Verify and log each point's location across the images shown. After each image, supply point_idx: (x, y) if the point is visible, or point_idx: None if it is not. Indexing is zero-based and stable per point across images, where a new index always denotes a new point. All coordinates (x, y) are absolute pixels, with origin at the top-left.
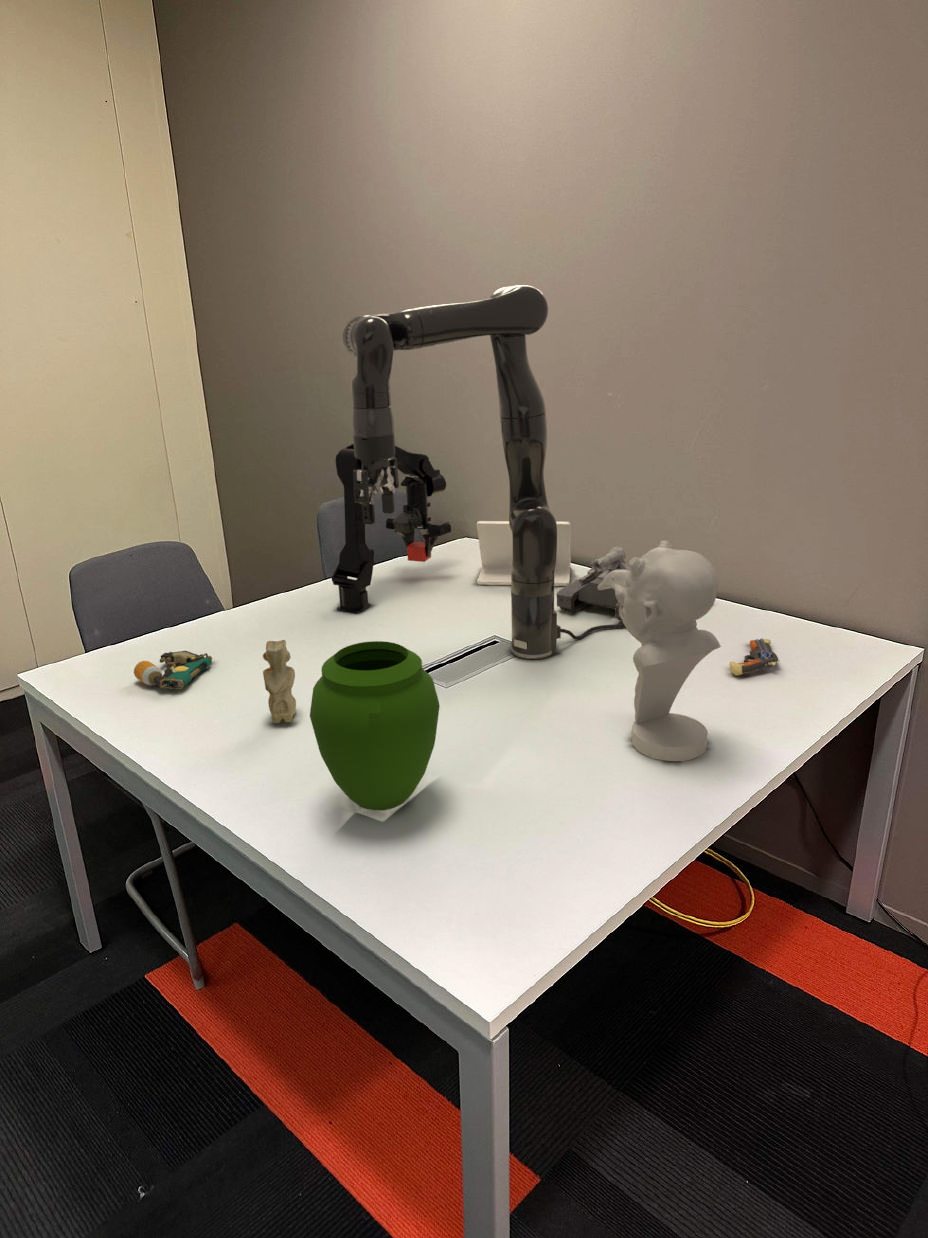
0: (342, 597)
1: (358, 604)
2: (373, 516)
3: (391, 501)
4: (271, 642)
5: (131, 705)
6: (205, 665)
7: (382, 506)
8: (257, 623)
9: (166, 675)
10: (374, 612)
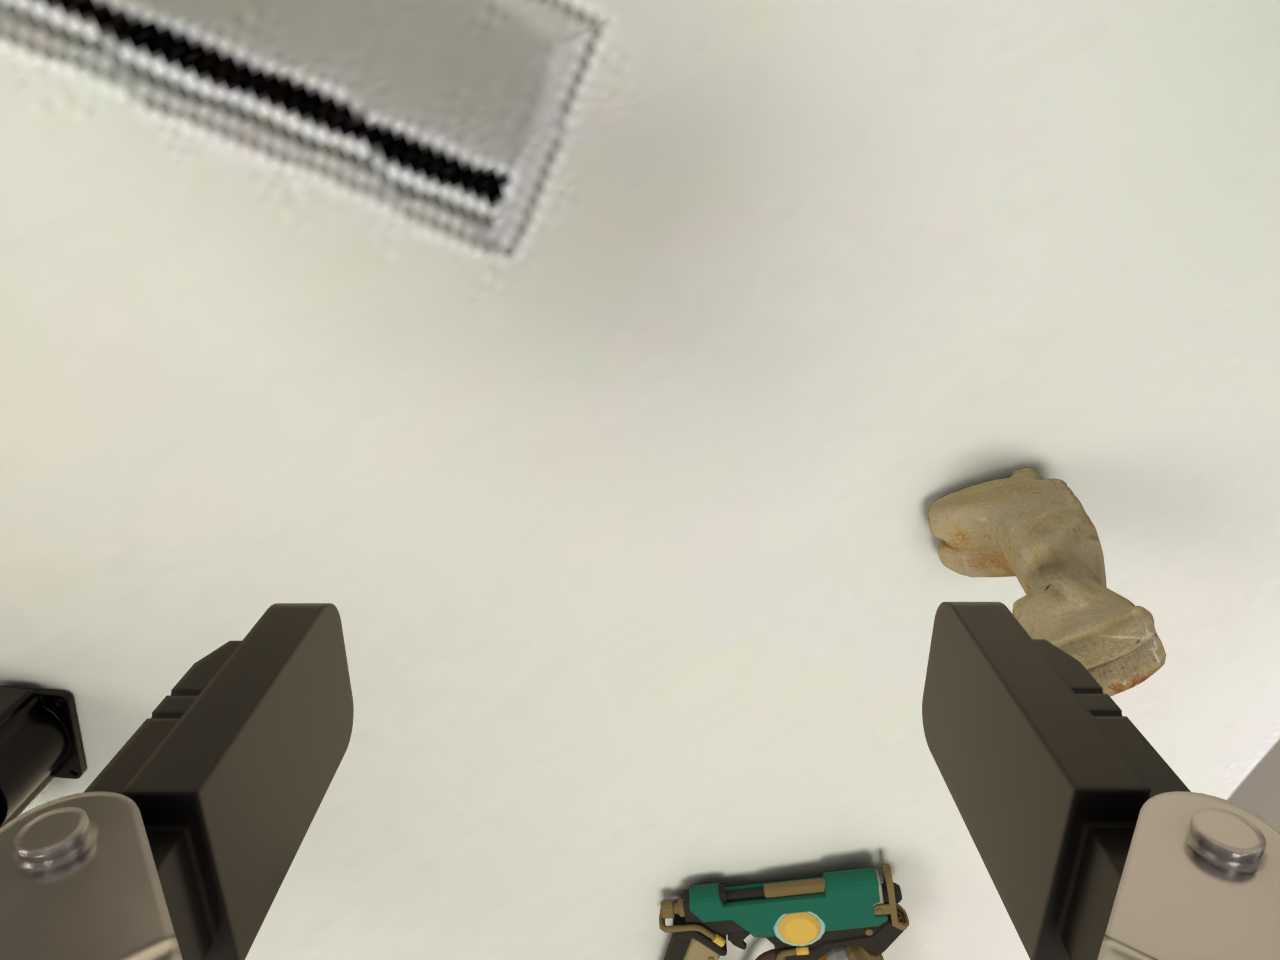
0: (34, 789)
1: (28, 716)
2: (1035, 651)
3: (263, 715)
4: (1098, 682)
5: (971, 920)
6: (725, 891)
7: (322, 793)
8: (323, 933)
9: (849, 937)
10: (22, 641)
